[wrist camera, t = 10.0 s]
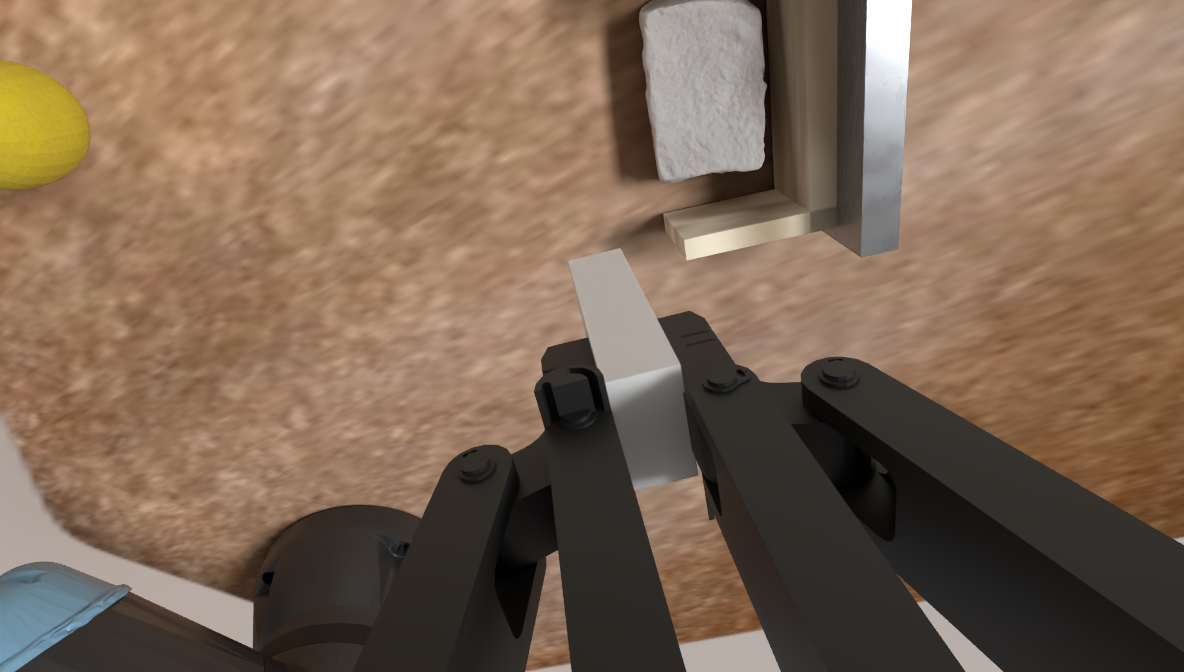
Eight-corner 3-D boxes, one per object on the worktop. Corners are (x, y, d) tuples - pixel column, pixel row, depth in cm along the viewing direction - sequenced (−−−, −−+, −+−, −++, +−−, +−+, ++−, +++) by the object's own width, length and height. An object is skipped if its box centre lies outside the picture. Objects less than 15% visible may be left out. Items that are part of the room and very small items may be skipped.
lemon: (119, 71, 31) (6, 88, 24) (124, 178, 34) (23, 223, 27) (-11, 40, 30) (-169, 48, 23) (5, 154, 32) (-135, 193, 25)
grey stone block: (643, 11, 36) (630, -25, 31) (756, -9, 35) (763, -50, 29) (658, 186, 38) (648, 183, 32) (765, 174, 37) (774, 168, 31)
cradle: (665, 232, 38) (686, 260, 34) (629, -35, 32) (650, -42, 27) (798, 202, 39) (836, 227, 34) (791, -69, 32) (837, -82, 27)
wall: (797, 213, 39) (860, 257, 32) (788, -87, 32) (869, -115, 25) (827, 206, 39) (898, 249, 32) (826, -94, 32) (918, -125, 25)
